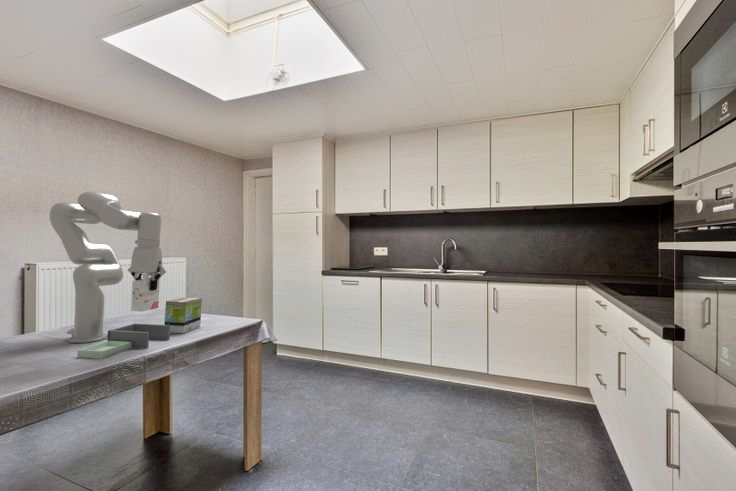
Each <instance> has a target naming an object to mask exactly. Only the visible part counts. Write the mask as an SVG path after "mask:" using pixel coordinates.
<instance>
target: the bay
mask: <svg viewBox="0 0 736 491" xmlns="http://www.w3.org/2000/svg"><path fill="white" fill-rule="evenodd" d="M150 340H160V341H161V340H164V341H169V340H171V333H170V325H164V324H155V323H153V324H152V323H151V324H150V323H131V324H128V325H123V326H121V327H115V328H113V329H109V330H107V338H106V341H126V342H131V348H132V349H133V348H136V349H148V348H149V347H150V346H149V342H150Z"/></svg>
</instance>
